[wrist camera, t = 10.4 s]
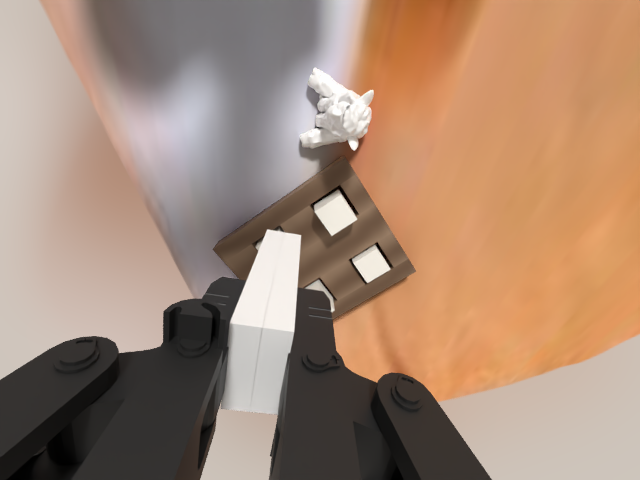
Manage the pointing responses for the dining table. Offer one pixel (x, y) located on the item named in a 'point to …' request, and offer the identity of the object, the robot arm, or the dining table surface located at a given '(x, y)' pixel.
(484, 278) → the dining table surface
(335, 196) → the button
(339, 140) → the seated beast figurine
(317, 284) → the button
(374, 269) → the button
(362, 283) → the board
